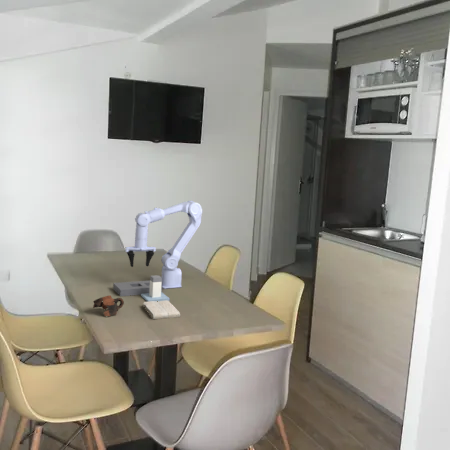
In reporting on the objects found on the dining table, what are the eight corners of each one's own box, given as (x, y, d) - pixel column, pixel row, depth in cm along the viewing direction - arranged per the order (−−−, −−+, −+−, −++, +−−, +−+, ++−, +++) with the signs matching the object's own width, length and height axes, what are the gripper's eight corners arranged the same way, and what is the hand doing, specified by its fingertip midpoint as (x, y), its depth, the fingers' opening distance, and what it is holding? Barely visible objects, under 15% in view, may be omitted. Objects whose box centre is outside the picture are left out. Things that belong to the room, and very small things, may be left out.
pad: (161, 294, 229) (161, 292, 229) (169, 300, 220) (169, 298, 220) (141, 296, 224) (141, 293, 224) (148, 302, 216) (148, 300, 216)
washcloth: (167, 305, 216) (168, 298, 215) (181, 318, 199) (181, 311, 199) (141, 307, 211) (141, 300, 210) (153, 321, 194) (153, 313, 194)
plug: (157, 294, 225) (158, 275, 224) (160, 296, 222) (161, 277, 220) (149, 295, 223) (150, 275, 222) (152, 297, 220) (153, 278, 218)
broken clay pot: (98, 319, 192) (91, 299, 194) (96, 322, 201) (90, 303, 202) (127, 309, 197) (121, 290, 198) (125, 313, 205) (119, 294, 207)
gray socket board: (153, 286, 242) (153, 280, 241) (162, 292, 231) (162, 286, 231) (113, 289, 232) (113, 282, 232) (120, 296, 222) (120, 289, 222)
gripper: (128, 239, 228) (127, 268, 230) (158, 239, 235) (156, 267, 237) (124, 237, 234) (122, 265, 236) (153, 237, 241) (151, 264, 243)
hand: (139, 266), depth 237 cm, fingers open, 7 cm apart
